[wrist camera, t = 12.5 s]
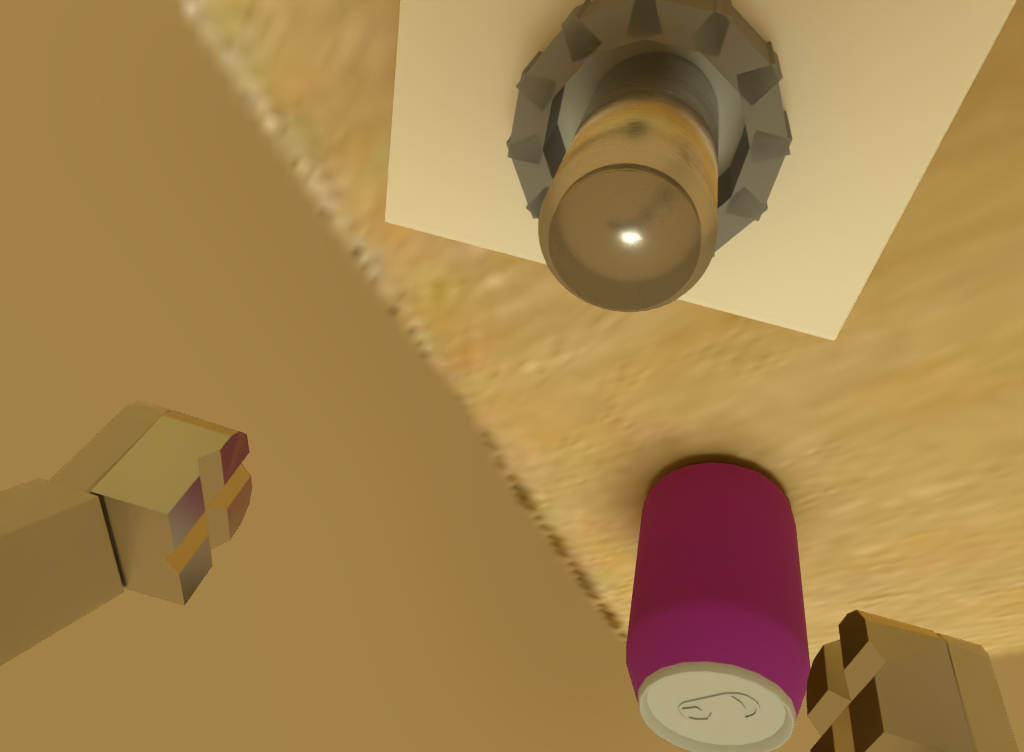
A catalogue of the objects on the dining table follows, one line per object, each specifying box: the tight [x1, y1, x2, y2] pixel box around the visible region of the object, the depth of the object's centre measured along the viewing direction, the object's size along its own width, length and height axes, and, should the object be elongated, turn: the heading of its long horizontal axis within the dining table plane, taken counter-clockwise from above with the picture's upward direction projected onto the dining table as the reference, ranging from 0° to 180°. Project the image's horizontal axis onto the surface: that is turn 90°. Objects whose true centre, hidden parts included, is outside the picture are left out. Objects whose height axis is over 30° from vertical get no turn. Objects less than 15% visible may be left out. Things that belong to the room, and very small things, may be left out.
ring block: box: [385, 0, 1017, 341], centre depth 28 cm, size 20×14×4 cm
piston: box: [538, 52, 719, 312], centre depth 24 cm, size 5×5×11 cm
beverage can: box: [626, 462, 810, 752], centre depth 35 cm, size 8×8×12 cm
